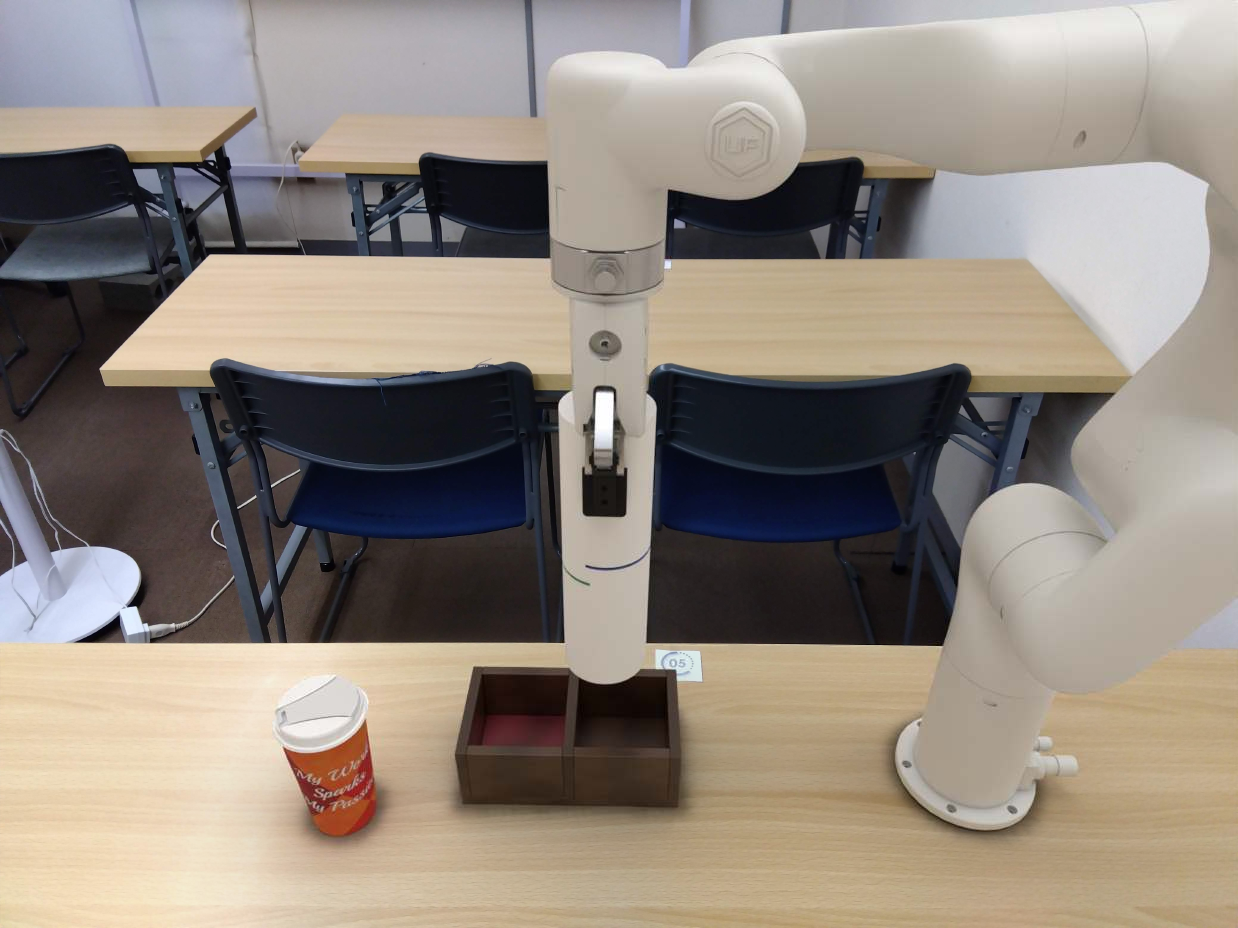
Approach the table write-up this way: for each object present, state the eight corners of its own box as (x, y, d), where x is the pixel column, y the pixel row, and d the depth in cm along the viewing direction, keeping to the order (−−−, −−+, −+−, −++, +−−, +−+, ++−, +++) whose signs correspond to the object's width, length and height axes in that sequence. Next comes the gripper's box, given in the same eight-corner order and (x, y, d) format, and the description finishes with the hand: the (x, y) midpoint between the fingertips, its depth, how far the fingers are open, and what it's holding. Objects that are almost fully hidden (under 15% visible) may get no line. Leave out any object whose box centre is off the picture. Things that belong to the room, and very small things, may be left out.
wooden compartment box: (673, 717, 88) (676, 668, 84) (677, 807, 79) (681, 757, 75) (479, 714, 88) (473, 665, 84) (461, 803, 79) (454, 753, 75)
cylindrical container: (637, 690, 72) (647, 436, 59) (555, 676, 73) (546, 424, 60) (651, 631, 78) (663, 389, 64) (575, 620, 79) (571, 379, 66)
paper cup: (310, 861, 74) (277, 755, 67) (295, 793, 80) (262, 688, 72) (399, 824, 77) (377, 719, 70) (378, 761, 83) (355, 658, 75)
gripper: (669, 314, 49) (657, 556, 59) (661, 222, 64) (652, 428, 73) (538, 311, 49) (547, 554, 59) (560, 220, 64) (565, 426, 73)
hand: (606, 482), depth 66 cm, fingers closed on cylindrical container, 7 cm apart
